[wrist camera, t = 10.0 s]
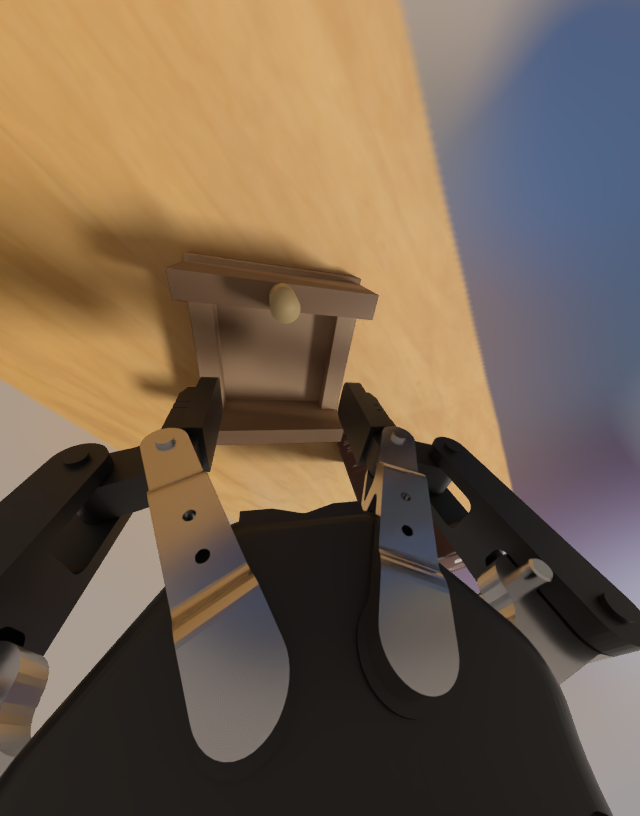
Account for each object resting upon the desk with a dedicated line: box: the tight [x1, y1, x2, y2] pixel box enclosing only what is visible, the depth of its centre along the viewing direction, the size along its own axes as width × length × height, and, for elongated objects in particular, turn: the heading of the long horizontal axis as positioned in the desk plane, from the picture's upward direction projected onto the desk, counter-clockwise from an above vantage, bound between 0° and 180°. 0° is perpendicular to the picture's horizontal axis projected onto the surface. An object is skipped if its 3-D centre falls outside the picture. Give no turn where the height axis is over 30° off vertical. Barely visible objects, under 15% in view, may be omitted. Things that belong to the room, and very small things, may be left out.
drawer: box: [166, 252, 379, 445], centre depth 15 cm, size 10×10×6 cm
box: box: [337, 419, 466, 572], centre depth 20 cm, size 6×4×12 cm
